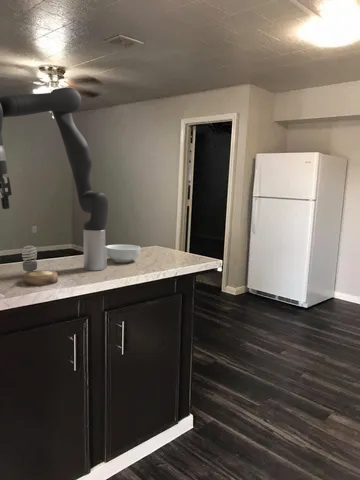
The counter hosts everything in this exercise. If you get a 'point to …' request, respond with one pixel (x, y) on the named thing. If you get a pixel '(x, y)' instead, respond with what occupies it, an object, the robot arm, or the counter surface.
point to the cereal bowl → (123, 252)
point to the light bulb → (32, 253)
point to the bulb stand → (40, 278)
